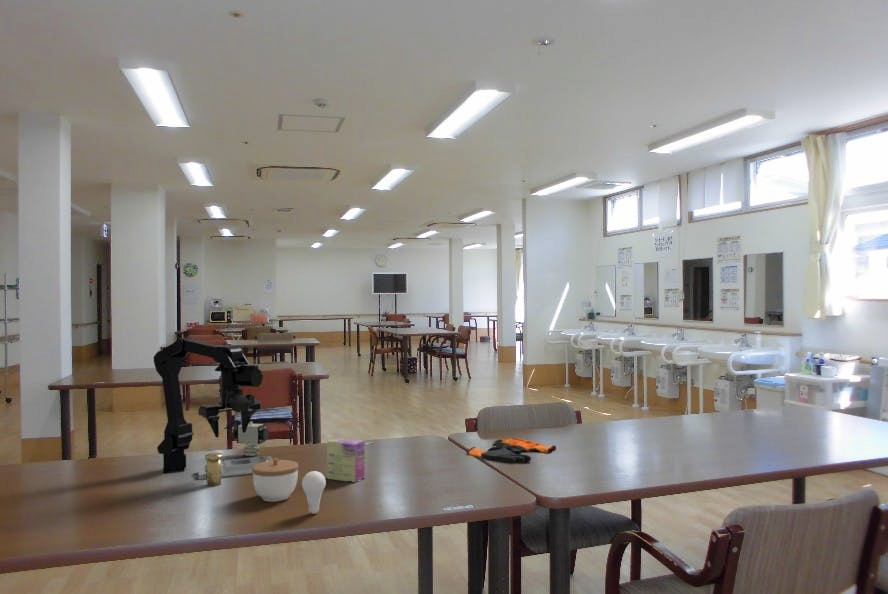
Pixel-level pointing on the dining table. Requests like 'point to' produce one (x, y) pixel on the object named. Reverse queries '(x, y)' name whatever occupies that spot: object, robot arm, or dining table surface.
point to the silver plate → (235, 466)
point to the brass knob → (214, 469)
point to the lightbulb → (313, 489)
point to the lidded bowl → (275, 479)
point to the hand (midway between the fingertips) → (230, 434)
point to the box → (345, 459)
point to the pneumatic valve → (251, 437)
